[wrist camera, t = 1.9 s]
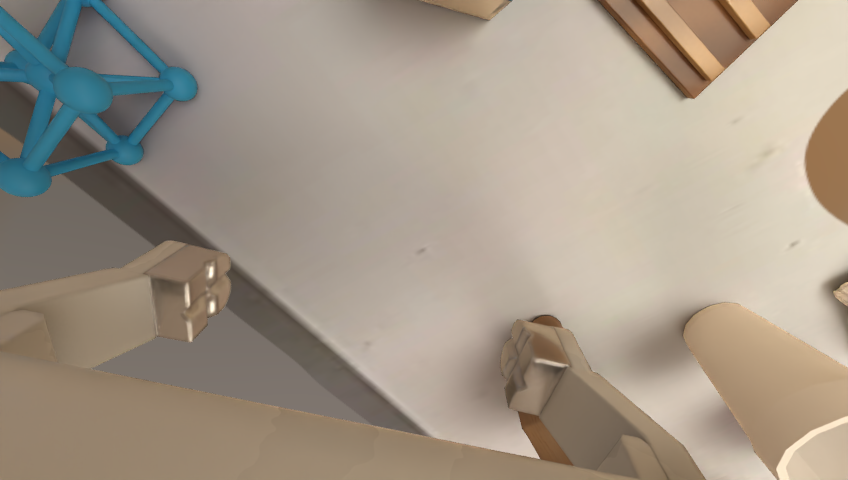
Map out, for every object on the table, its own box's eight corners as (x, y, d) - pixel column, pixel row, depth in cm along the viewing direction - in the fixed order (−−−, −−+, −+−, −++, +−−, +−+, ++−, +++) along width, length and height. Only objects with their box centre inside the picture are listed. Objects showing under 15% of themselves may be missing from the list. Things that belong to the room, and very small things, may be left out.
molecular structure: (23, 65, 26) (-188, 64, 18) (86, -41, 23) (-131, -107, 14) (141, 166, 30) (14, 210, 21) (210, 85, 27) (96, 96, 18)
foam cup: (771, 278, 33) (958, 396, 21) (766, 349, 36) (921, 483, 25) (663, 304, 34) (781, 427, 23) (668, 370, 38) (771, 504, 26)
